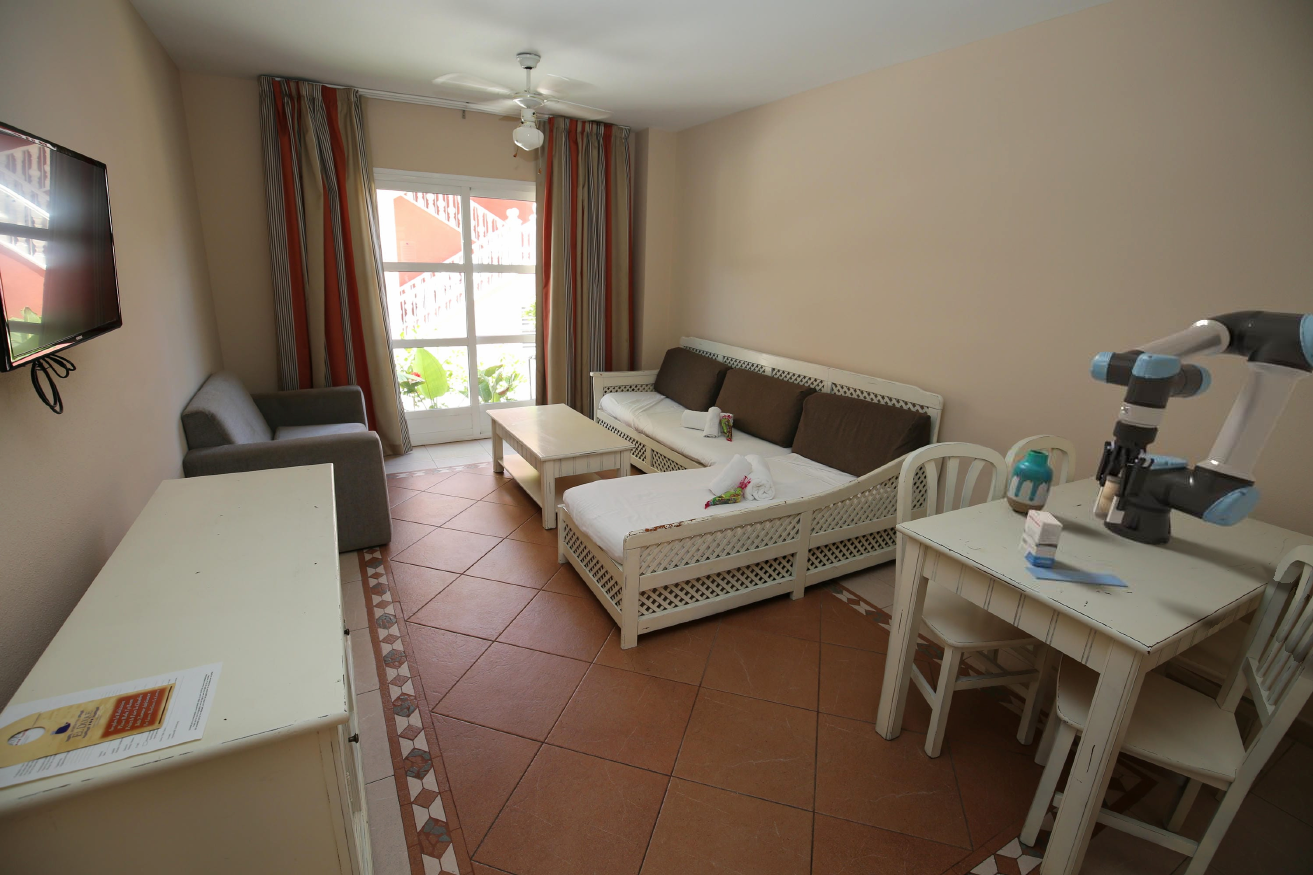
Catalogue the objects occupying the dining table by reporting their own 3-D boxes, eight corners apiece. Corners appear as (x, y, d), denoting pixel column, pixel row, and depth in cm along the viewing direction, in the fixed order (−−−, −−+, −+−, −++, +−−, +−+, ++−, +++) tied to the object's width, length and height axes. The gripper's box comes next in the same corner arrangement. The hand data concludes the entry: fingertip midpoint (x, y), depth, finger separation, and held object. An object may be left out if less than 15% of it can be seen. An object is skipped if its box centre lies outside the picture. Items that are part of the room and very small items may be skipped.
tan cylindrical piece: (1111, 515, 140) (1124, 476, 137) (1122, 523, 135) (1136, 483, 132) (1090, 512, 140) (1103, 474, 137) (1101, 520, 136) (1114, 480, 133)
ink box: (1052, 568, 144) (1065, 525, 141) (1030, 565, 145) (1043, 522, 142) (1037, 552, 152) (1049, 511, 149) (1017, 549, 153) (1028, 508, 150)
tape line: (1113, 575, 143) (1114, 574, 142) (1127, 586, 138) (1128, 585, 138) (1025, 567, 144) (1025, 566, 144) (1036, 578, 139) (1036, 577, 139)
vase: (1005, 501, 185) (1019, 444, 180) (1044, 510, 180) (1060, 452, 174) (1001, 511, 177) (1016, 452, 171) (1041, 521, 171) (1059, 460, 166)
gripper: (1096, 411, 140) (1068, 501, 146) (1147, 432, 123) (1113, 531, 130) (1129, 415, 139) (1100, 504, 146) (1185, 435, 122) (1148, 535, 129)
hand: (1106, 517), depth 138 cm, fingers closed on tan cylindrical piece, 5 cm apart
